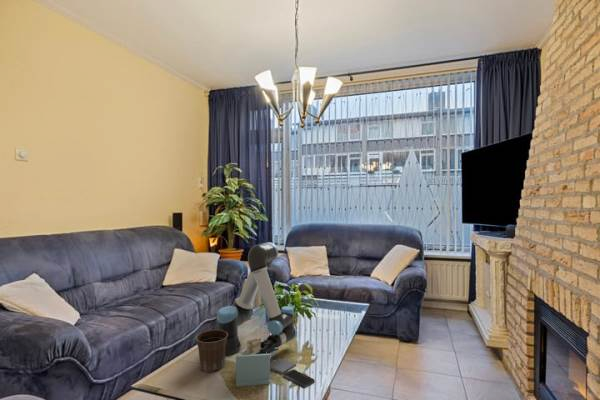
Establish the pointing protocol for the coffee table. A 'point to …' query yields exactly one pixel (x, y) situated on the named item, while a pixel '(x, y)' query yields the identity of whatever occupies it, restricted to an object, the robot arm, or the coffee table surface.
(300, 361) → the coffee table surface
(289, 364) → the charcoal mat
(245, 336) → the coffee table surface
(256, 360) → the standing board
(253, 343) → the tall tan block
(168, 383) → the coffee table surface
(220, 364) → the plant pot
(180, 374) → the coffee table surface
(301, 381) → the phone
